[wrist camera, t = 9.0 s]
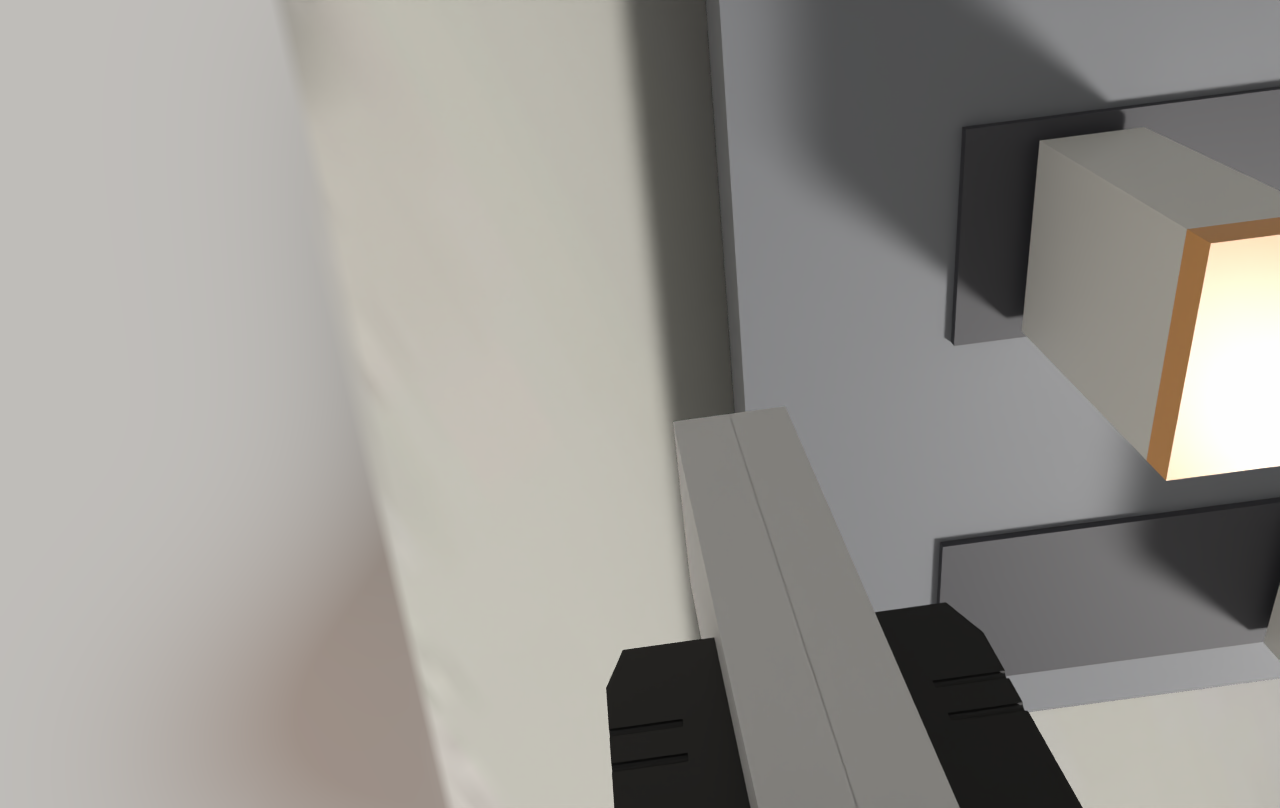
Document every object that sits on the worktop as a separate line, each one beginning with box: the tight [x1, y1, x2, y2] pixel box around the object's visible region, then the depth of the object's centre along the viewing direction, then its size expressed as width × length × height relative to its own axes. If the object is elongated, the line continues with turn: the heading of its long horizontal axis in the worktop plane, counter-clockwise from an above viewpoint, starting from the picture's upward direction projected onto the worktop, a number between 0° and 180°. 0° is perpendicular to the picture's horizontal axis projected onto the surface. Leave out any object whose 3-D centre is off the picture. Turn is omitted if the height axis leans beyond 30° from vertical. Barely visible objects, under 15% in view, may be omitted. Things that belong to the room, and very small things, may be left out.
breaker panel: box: [706, 0, 1280, 712], centre depth 21 cm, size 28×20×2 cm
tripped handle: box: [1022, 127, 1280, 481], centre depth 17 cm, size 4×2×6 cm, turn 6°
